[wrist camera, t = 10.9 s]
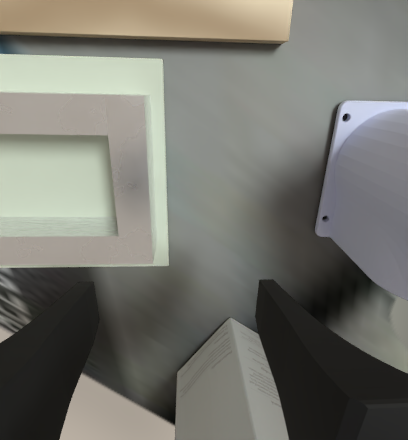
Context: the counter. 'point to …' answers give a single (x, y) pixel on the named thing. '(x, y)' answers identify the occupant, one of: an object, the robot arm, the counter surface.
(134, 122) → the c link
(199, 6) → the hook board
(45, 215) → the mat
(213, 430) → the skincare box
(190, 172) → the counter surface
